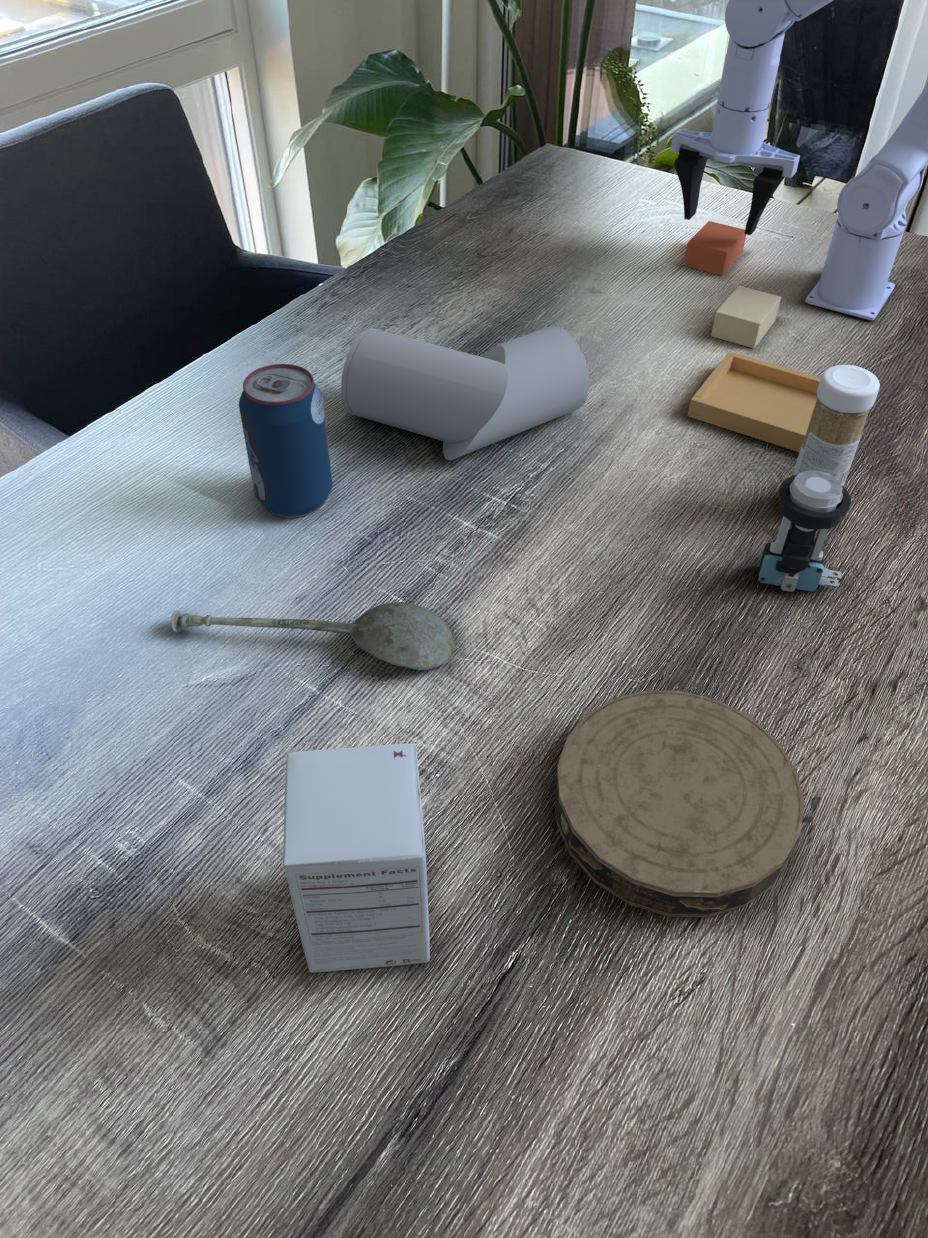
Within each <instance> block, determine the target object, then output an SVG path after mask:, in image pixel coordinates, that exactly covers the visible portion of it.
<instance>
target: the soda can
mask: <svg viewBox="0 0 928 1238" xmlns="http://www.w3.org/2000/svg"><path fill="white" fill-rule="evenodd" d="M238 409H239V415H240V421H241V425H242V432H243V439H244V443H245V449H246V454H247V460H248V465H249V466H248V467H249V471H250V476H251V477H250V478H251V483H252V488H253V494H254V496H255V498H256V499H257V501H258V502H259V503H260V504H261V505H262V506H263V507H264V508H265V509H266V510H267V511H268V512H270V513H272V514H273V515H274V516H278V517H282V518H291V519H292V518H293V519H295V518H301V517H302V518H303V517H306V516H308V515H311V514H313V513H315V512H317V511H318V510H320V509H321V508H322V506H323V505H324V504H325V502H326V501H327V500H328V497H329V496H330V494H331V492H332V489H333V478H332V469H331V468H332V467H331V459H330V450H329V441H328V432H327V424H326V423H327V421H326V413H325V404H324V396H323V393H322V391H321V389H320V388H319V387H318V385H317V384H316V383H315V380H314V377H313V375H312V373H311V372H310V371H309V370H308V369H306V368H304V367H303V366H300V365H296V364H289V363H275V364H268V365H264V366H262V367H258V368H257V369H255V370H253V371H252V372H250V373H249V374H248V375H247V376H246V377H245V379H243V382H242V392H241V395H240V397H239V400H238Z"/></svg>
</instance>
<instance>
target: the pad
mask: <svg viewBox="0 0 928 1238" xmlns="http://www.w3.org/2000/svg"><path fill="white" fill-rule="evenodd" d="M781 299H782V296H780V295H777V294H772V293H768V292H764V291H761V290H757V289H753V288H749V287H746V286H742V285H737V287H736V288H735V289H734V290H733V291H732V293H730V295H729V296H728V297H727V298H726V300H725V301H724V302H723V303H722V304H721V305H720V306H719V308H717V310H716V311H715V314H714V319H713V325H712V328H711V334H710V337H712V338H714V339H715V338H716V339H719V340H723V341H726V342H729V343H733V344H736V345H740V346H743V347H747V348H749V349H750V348H751V349H752V350H753V349H755V348H756V347H757V345H758V344H760V341H761V340H763V337H764V336H765V335H766V334H767V333H768V331H769V330H770V329H771V327H772V326H773V325H774V324H775V322H776V319H777V316H778V312H779V308H780V304H781Z"/></svg>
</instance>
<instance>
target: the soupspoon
mask: <svg viewBox="0 0 928 1238" xmlns="http://www.w3.org/2000/svg"><path fill="white" fill-rule="evenodd" d="M202 625H205V626H206V627H211V626H212V625H213V626H230V627H231V626H235V627H251V628H252V627H253V628H272V629H275V628H276V629H296V630H307V631H316V632H317V631H319V632H329V633H334V634H335V633H337V634H346V635H350V637H351V638H352V640H353V641H354V643H355V644H356V645H357V646H358V647H359V648H360V649H362V650H363V651H365V652H366V653H368V654H369V655H372V656H373V657H374V658H376V659H379V660H380V661H383V662H386V663H387V664H391V665H393V666H399V667H402V668H406V669H407V668H409V669H412V670H417V671H427V670H431V669H435V668H439V667H440V666H443V665H445V664H446V663H447V662H449V660H450V659H451V658H452V656H453V655H454V652H455V644H456V643H455V640H454V639H455V638H454V636H453V633H452V630H451V628H450V627H449V626H448V624H447V623H446V622H445V621H444V620H443V619H442V618H441V617H440V616H439V615H438V614H436V613H435V612H434V611H432V610H430V609H428V608H426V607H424V606H421V605H418V604H416V603H411V602H404V601H397V602H396V601H394V602H393V601H392V602H386V603H382V604H379V605H376V606H373V607H372V608H370V609H368V610H367V611H365V612H363V613H362V614H361V615H360V616H359V617H358V618H357V619H355V621H354V622H341V621H331V620H319V619H318V620H317V619H316V620H315V619H299V618H297V619H296V618H265V617H264V618H261V617H260V618H259V617H258V618H257V617H227V616H225V617H223V616H221V617H217V616H216V617H213V616H212V615H211V614H207V615H205V616H202V615H199V614H195V615H194V614H188V613H183V614H182V612H181V611H180V610H178V609H175V610H174V611H173V612H172V614H171V617H170V627H171V629H172V631H174V633H181V631H182V630H183V629H188V628H189V627H200V626H202Z"/></svg>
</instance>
